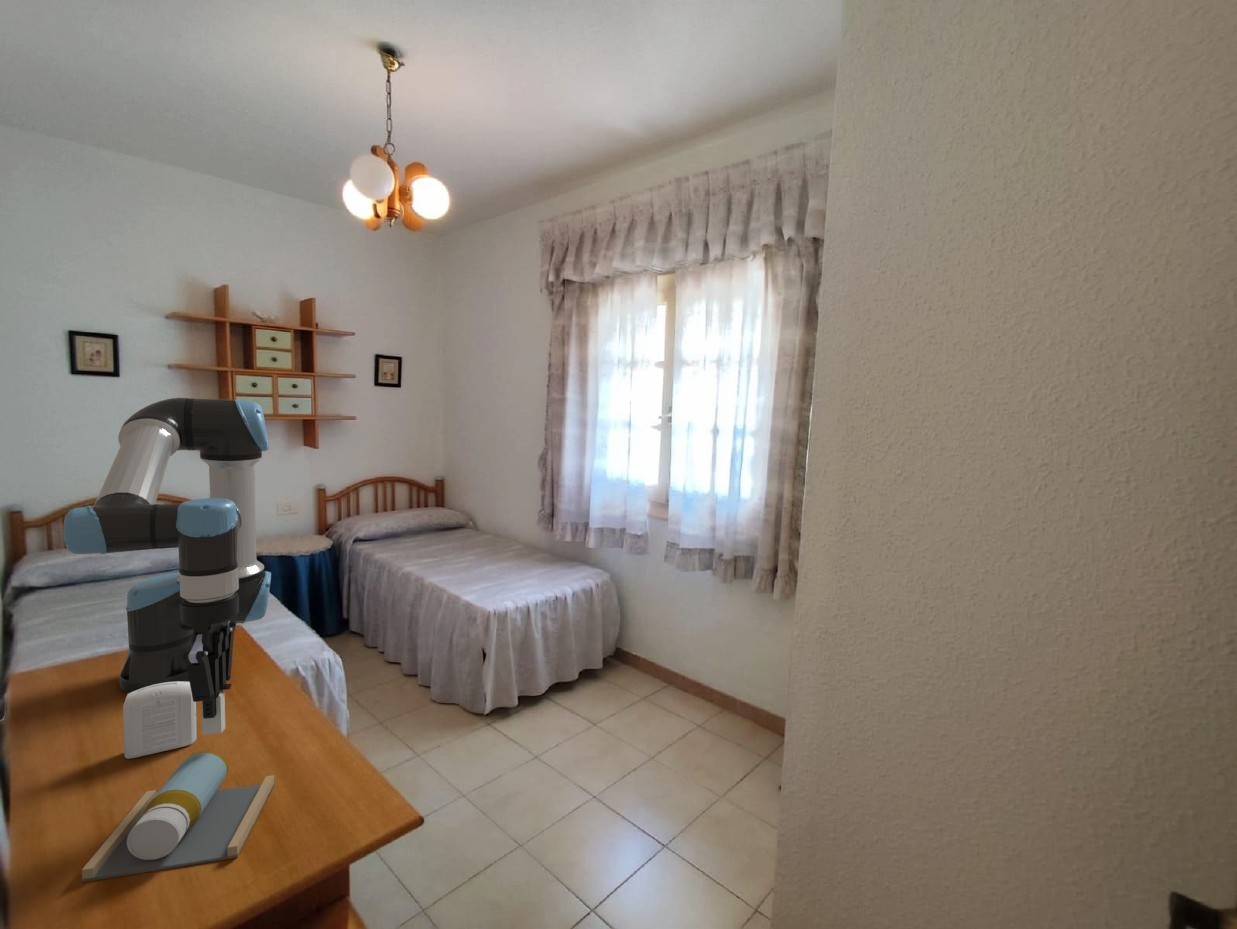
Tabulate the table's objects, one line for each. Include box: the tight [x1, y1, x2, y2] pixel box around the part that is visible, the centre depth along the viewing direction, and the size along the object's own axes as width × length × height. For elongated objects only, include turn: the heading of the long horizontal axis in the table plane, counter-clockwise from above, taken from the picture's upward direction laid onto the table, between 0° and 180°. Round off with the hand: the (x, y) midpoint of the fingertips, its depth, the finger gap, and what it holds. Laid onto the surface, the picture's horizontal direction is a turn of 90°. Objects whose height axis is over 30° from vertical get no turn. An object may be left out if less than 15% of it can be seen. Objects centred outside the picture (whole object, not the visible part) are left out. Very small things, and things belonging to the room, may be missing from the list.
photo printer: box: [122, 681, 197, 760], centre depth 98 cm, size 10×4×12 cm, turn 123°
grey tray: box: [81, 775, 275, 883], centre depth 80 cm, size 15×18×2 cm
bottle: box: [127, 750, 229, 860], centre depth 81 cm, size 7×7×15 cm
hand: (214, 731), depth 88 cm, fingers closed
